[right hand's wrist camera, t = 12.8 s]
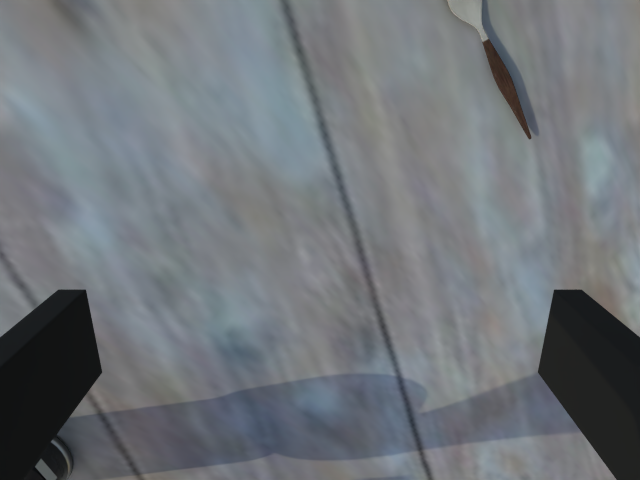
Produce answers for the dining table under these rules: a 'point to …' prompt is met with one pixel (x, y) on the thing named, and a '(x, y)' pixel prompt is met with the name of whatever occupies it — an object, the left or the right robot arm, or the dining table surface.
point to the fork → (490, 55)
